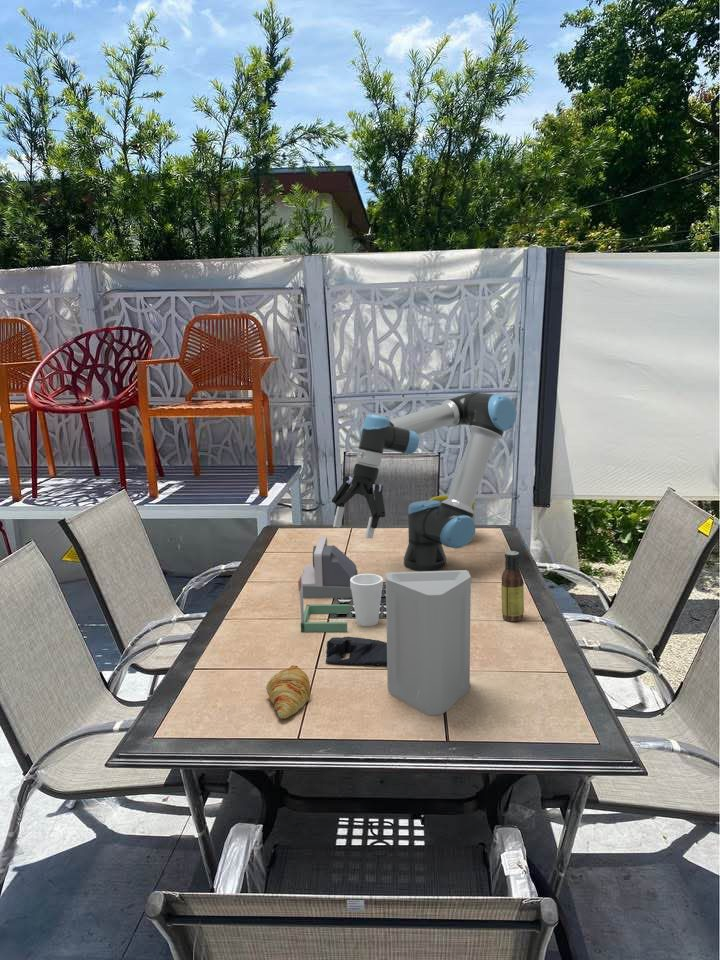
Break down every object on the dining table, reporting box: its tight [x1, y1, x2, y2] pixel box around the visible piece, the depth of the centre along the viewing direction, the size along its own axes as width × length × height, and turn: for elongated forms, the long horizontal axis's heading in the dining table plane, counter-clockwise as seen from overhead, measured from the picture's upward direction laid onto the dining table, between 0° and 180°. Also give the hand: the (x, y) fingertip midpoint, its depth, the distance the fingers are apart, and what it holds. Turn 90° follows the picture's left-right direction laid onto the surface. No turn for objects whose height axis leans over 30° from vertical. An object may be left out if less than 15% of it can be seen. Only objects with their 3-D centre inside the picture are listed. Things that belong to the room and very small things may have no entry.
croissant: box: [265, 665, 311, 720], centre depth 163 cm, size 21×10×8 cm, turn 0°
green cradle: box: [297, 574, 351, 633], centre depth 201 cm, size 13×18×16 cm
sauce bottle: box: [501, 550, 525, 623], centre depth 202 cm, size 7×6×20 cm
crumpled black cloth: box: [324, 636, 387, 666], centre depth 184 cm, size 15×22×5 cm
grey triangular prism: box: [385, 569, 472, 716], centre depth 159 cm, size 19×15×28 cm
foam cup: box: [350, 573, 384, 627], centre depth 203 cm, size 10×9×13 cm
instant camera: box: [302, 536, 359, 599], centre depth 231 cm, size 21×21×15 cm
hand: (352, 532), depth 216 cm, fingers open, 13 cm apart
